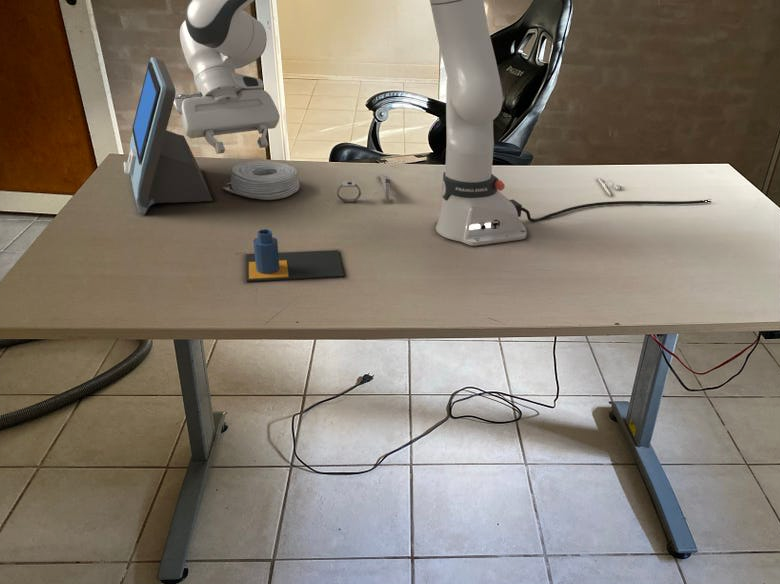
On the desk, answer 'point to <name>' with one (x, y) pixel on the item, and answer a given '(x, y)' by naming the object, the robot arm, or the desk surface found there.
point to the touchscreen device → (161, 148)
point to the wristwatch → (348, 184)
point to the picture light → (606, 187)
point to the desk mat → (299, 266)
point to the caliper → (386, 187)
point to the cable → (263, 180)
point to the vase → (266, 252)
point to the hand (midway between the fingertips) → (243, 149)
